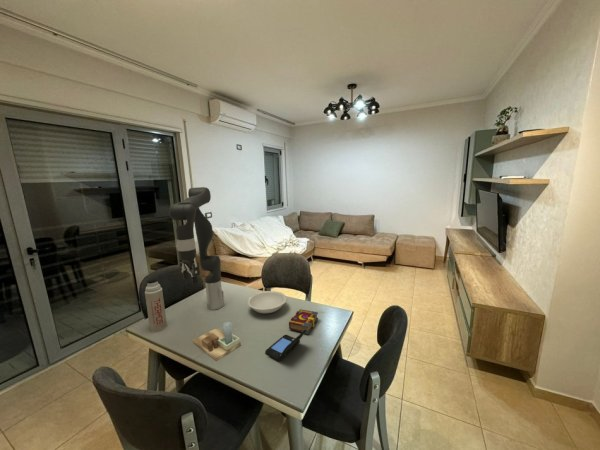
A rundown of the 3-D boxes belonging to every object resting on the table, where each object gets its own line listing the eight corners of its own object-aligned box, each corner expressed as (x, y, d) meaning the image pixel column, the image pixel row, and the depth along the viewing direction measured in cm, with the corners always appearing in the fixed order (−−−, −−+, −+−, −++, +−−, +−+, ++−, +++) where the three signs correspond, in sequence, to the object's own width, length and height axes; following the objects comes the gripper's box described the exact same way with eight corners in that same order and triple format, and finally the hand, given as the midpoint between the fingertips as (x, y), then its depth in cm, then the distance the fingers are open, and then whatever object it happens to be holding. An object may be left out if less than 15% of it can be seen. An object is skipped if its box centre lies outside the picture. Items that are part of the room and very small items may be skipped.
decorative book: (288, 330, 128) (288, 321, 127) (300, 314, 143) (300, 307, 142) (308, 334, 124) (308, 325, 123) (318, 318, 138) (318, 310, 137)
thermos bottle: (166, 330, 131) (160, 280, 126) (149, 334, 127) (142, 284, 122) (167, 323, 138) (161, 276, 133) (150, 327, 134) (144, 279, 129)
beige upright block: (213, 338, 120) (212, 333, 119) (219, 342, 117) (218, 337, 116) (202, 345, 115) (201, 339, 115) (207, 349, 112) (207, 343, 112)
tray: (231, 337, 121) (230, 332, 120) (239, 343, 116) (239, 338, 116) (218, 344, 115) (217, 340, 115) (226, 351, 111) (226, 346, 110)
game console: (285, 336, 123) (284, 319, 121) (307, 346, 115) (307, 328, 113) (263, 354, 110) (262, 335, 109) (287, 366, 102) (286, 347, 101)
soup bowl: (270, 324, 133) (270, 313, 132) (239, 313, 146) (238, 303, 145) (294, 305, 153) (294, 295, 152) (265, 297, 166) (264, 288, 165)
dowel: (229, 339, 118) (227, 320, 116) (234, 342, 116) (232, 323, 114) (223, 343, 115) (221, 324, 114) (228, 346, 113) (226, 326, 111)
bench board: (216, 329, 130) (215, 321, 129) (240, 345, 116) (240, 336, 115) (192, 342, 120) (191, 333, 119) (216, 360, 106) (215, 351, 106)
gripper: (202, 248, 109) (206, 282, 111) (187, 244, 118) (190, 276, 120) (186, 252, 103) (190, 288, 106) (171, 247, 112) (175, 281, 115)
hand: (190, 281), depth 113 cm, fingers open, 8 cm apart
